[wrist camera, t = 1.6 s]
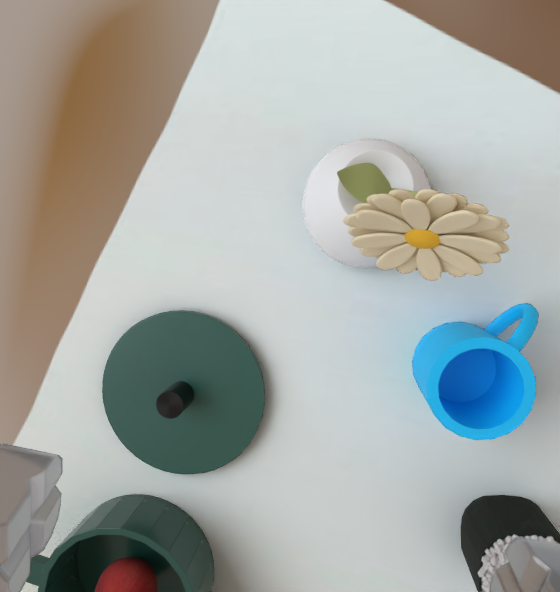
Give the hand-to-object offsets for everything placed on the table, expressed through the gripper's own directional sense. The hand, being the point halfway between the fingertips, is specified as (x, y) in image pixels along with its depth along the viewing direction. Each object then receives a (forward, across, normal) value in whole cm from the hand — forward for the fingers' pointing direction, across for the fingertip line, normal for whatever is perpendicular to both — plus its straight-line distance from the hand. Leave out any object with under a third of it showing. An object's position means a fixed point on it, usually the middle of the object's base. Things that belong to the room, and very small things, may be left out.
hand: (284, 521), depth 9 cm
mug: (+36, +19, -11) cm, 42 cm away
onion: (+31, -8, -41) cm, 52 cm away
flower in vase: (+40, +8, -1) cm, 41 cm away
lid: (+36, -7, -22) cm, 42 cm away
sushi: (+30, +26, -27) cm, 48 cm away
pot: (+32, -8, -41) cm, 52 cm away
